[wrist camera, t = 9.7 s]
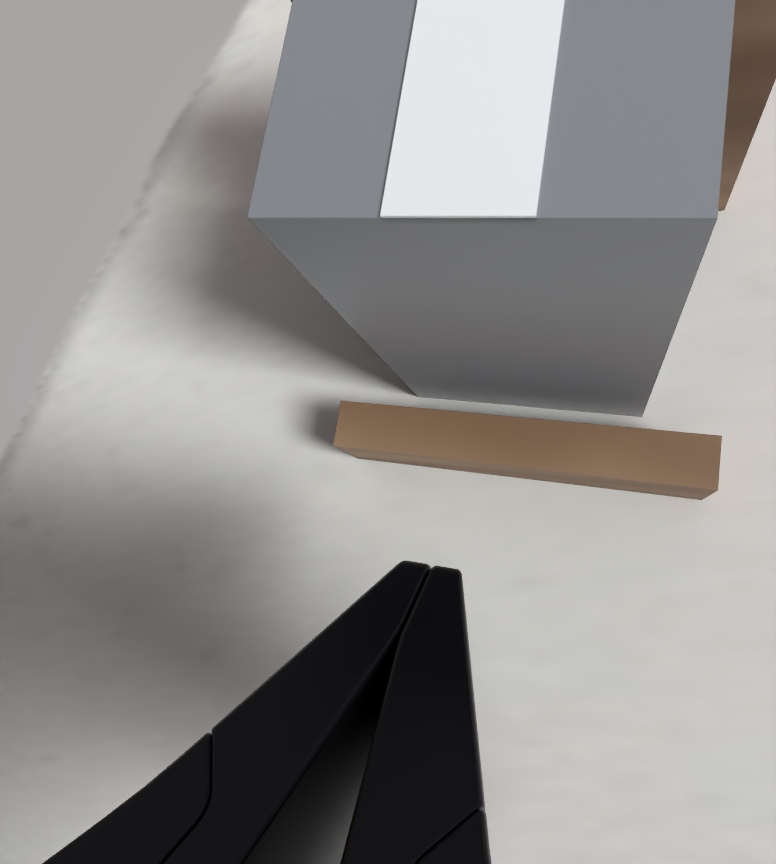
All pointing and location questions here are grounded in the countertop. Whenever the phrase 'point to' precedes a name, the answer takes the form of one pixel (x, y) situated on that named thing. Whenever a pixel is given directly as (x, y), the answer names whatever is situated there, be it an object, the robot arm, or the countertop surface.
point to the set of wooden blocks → (569, 441)
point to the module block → (501, 185)
